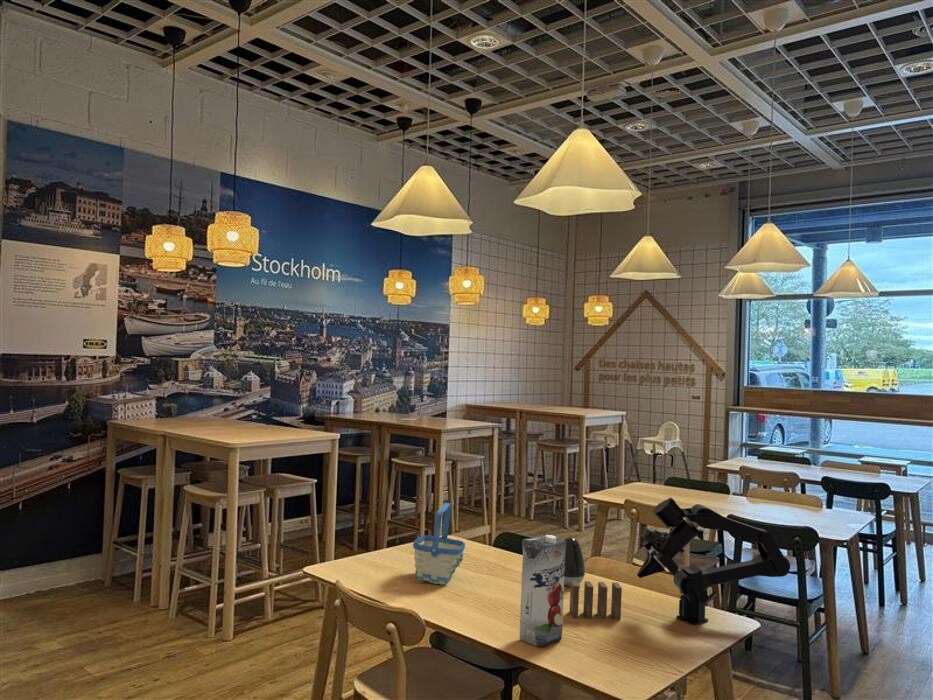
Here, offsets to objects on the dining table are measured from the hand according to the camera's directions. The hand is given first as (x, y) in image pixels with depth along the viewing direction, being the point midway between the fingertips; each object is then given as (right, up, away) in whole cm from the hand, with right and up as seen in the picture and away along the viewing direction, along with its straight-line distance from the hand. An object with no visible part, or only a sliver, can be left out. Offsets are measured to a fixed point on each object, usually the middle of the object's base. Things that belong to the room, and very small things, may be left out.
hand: (638, 576), depth 199 cm
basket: (-59, -10, +29) cm, 66 cm away
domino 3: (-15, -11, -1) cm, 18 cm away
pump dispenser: (-16, -12, +29) cm, 35 cm away
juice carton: (-30, -10, -21) cm, 38 cm away
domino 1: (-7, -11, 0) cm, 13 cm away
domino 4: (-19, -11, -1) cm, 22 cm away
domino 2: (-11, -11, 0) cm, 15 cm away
